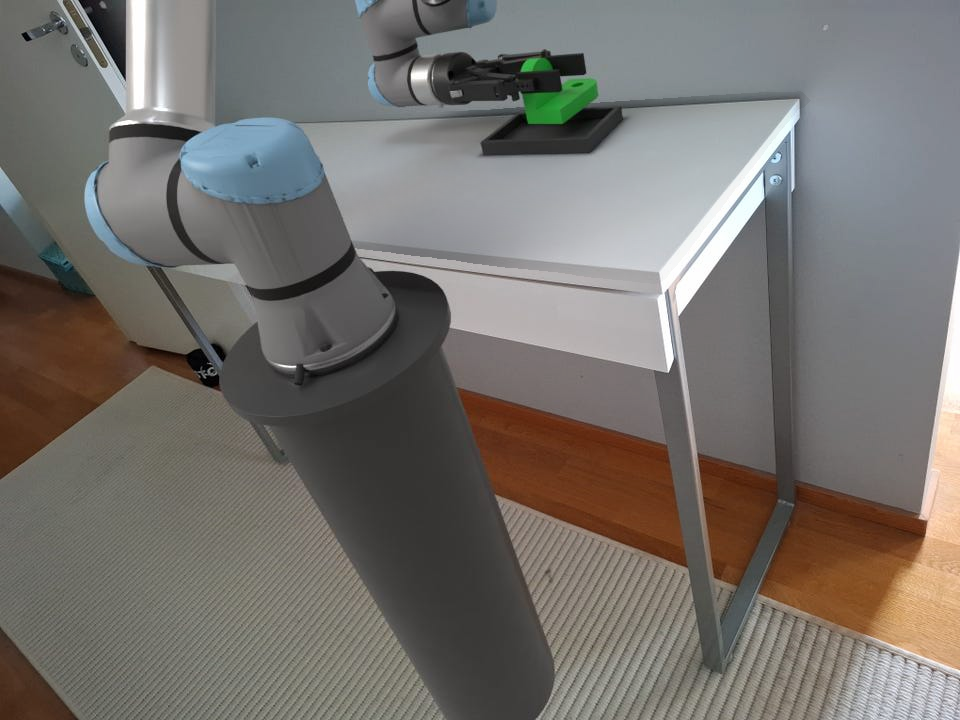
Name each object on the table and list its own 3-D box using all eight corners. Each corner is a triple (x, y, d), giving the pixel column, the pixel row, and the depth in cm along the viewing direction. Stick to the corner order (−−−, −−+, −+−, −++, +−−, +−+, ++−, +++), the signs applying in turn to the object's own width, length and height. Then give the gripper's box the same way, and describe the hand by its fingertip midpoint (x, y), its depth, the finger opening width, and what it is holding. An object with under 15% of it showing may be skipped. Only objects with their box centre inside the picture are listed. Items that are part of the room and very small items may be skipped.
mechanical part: (562, 123, 92) (552, 64, 88) (528, 123, 96) (516, 66, 91) (605, 91, 99) (598, 34, 94) (571, 92, 102) (562, 37, 98)
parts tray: (589, 152, 90) (587, 138, 89) (483, 155, 100) (480, 142, 99) (623, 119, 97) (621, 105, 96) (520, 124, 107) (518, 112, 106)
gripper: (488, 82, 111) (609, 75, 97) (415, 127, 101) (539, 127, 87) (476, 34, 107) (602, 20, 93) (400, 76, 97) (527, 68, 83)
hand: (571, 72), depth 90 cm, fingers closed on mechanical part, 5 cm apart
